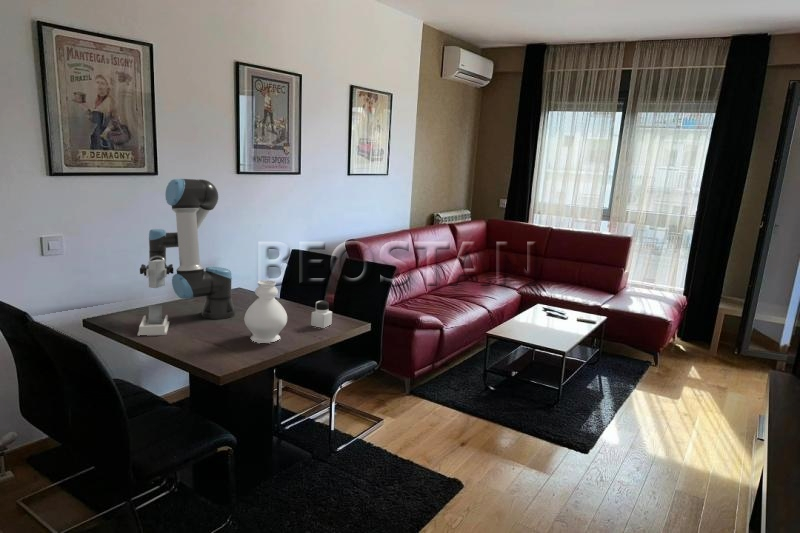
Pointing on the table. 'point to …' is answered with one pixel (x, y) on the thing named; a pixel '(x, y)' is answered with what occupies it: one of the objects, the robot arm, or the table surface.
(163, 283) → the skincare box
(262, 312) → the decorative vase
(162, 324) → the white rectangular tray
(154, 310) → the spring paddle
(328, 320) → the medicine bottle
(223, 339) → the table surface
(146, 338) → the table surface
